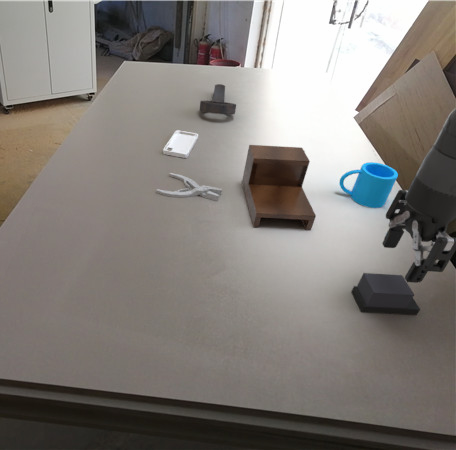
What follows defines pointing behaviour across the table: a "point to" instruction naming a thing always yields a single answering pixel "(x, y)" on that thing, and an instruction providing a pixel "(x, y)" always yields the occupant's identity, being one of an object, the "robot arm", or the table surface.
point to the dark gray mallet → (218, 103)
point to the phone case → (180, 144)
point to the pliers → (197, 190)
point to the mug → (371, 184)
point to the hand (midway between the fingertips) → (399, 262)
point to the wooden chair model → (277, 184)
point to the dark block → (385, 294)
